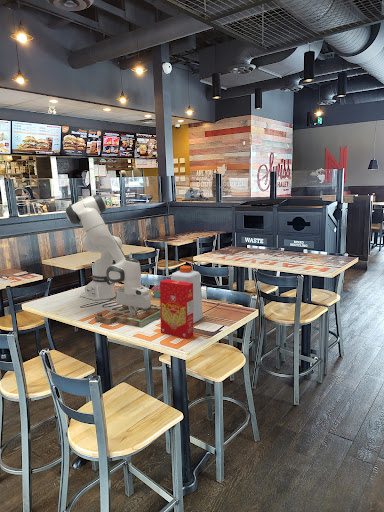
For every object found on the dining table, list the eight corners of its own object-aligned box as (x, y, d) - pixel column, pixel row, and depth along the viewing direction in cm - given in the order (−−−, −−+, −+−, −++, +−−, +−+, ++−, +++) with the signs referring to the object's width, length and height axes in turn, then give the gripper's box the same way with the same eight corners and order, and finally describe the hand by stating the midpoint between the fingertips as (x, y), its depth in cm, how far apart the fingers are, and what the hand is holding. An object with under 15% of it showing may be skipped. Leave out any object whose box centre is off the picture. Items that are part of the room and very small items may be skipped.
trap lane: (92, 321, 198) (92, 315, 197) (127, 305, 224) (127, 300, 223) (136, 330, 185) (136, 323, 185) (168, 312, 211) (168, 306, 211)
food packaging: (160, 332, 182) (159, 281, 177) (167, 329, 186) (166, 279, 182) (187, 339, 174) (186, 285, 170) (193, 335, 179) (193, 283, 174)
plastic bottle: (191, 326, 190) (191, 271, 185) (165, 321, 197) (165, 267, 193) (205, 317, 203) (205, 265, 198) (180, 313, 210) (180, 262, 206)
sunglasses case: (147, 313, 211) (152, 303, 208) (156, 321, 208) (161, 312, 205) (124, 322, 196) (129, 312, 193) (133, 331, 193) (138, 322, 190)
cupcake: (149, 297, 240) (148, 278, 238) (155, 294, 248) (154, 275, 246) (161, 298, 238) (161, 279, 235) (167, 295, 245) (167, 276, 243)
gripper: (113, 288, 204) (114, 313, 206) (145, 292, 195) (146, 318, 197) (120, 285, 209) (121, 309, 212) (152, 289, 200) (152, 315, 203)
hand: (133, 314), depth 204 cm, fingers closed
